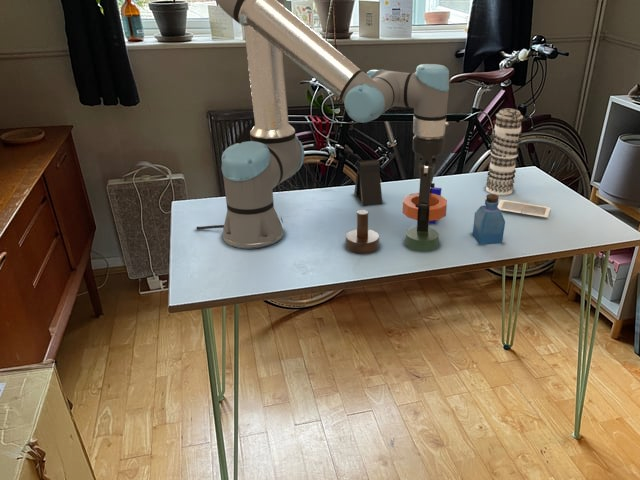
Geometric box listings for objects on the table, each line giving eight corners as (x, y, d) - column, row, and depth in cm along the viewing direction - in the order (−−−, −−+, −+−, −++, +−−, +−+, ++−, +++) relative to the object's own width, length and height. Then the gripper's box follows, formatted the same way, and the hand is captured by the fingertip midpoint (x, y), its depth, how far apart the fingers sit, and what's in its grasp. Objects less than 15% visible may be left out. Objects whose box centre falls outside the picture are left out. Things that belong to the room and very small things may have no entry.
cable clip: (424, 205, 172) (426, 186, 169) (439, 207, 172) (441, 188, 169) (418, 222, 162) (419, 202, 159) (434, 223, 162) (436, 203, 159)
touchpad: (499, 202, 176) (500, 195, 175) (550, 210, 172) (551, 203, 171) (494, 212, 170) (495, 205, 168) (547, 220, 165) (548, 213, 164)
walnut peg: (343, 252, 146) (342, 217, 141) (349, 237, 153) (348, 204, 148) (376, 255, 145) (377, 220, 140) (380, 240, 152) (381, 206, 147)
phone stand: (354, 194, 178) (354, 156, 172) (372, 192, 180) (373, 155, 174) (363, 205, 171) (363, 166, 165) (382, 203, 173) (383, 164, 167)
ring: (401, 219, 142) (401, 207, 141) (404, 202, 151) (405, 191, 150) (445, 222, 141) (446, 210, 140) (446, 205, 150) (447, 194, 149)
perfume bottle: (502, 243, 152) (508, 200, 146) (479, 244, 152) (484, 201, 145) (494, 233, 158) (500, 191, 151) (472, 234, 157) (477, 192, 151)
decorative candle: (516, 187, 187) (529, 108, 174) (510, 197, 180) (522, 115, 167) (489, 182, 190) (499, 104, 177) (481, 192, 183) (491, 111, 170)
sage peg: (404, 250, 148) (406, 215, 143) (407, 235, 155) (408, 202, 150) (437, 252, 147) (440, 218, 142) (438, 238, 154) (441, 204, 149)
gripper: (443, 151, 126) (436, 242, 137) (446, 122, 146) (440, 204, 157) (409, 149, 127) (405, 240, 138) (416, 121, 147) (412, 202, 158)
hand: (423, 221), depth 148 cm, fingers closed on ring, 11 cm apart
